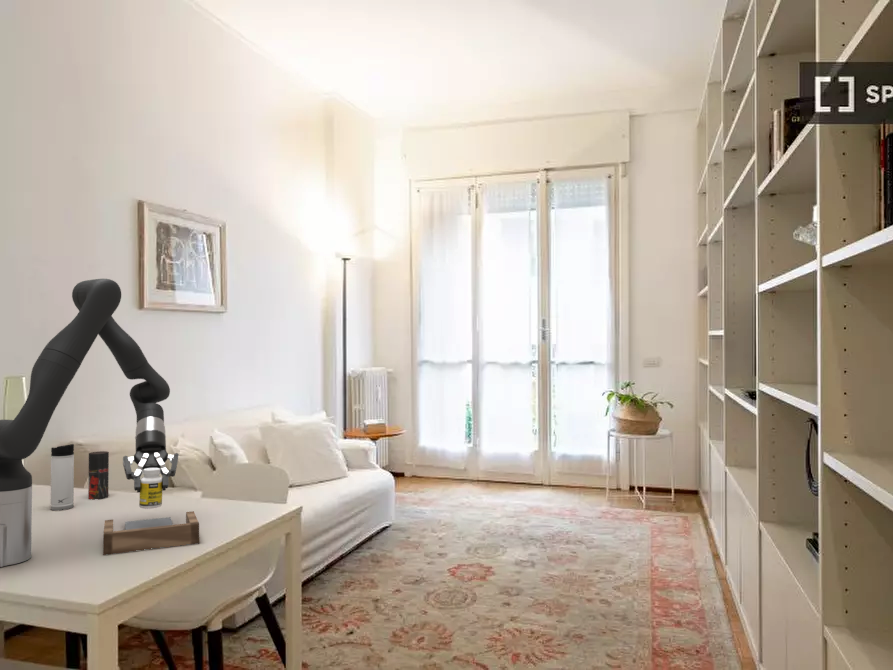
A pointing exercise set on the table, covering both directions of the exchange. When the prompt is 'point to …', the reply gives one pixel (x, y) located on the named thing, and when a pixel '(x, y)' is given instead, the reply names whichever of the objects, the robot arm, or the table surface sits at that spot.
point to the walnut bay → (150, 536)
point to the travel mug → (62, 477)
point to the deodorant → (98, 475)
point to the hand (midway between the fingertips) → (151, 489)
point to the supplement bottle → (151, 489)
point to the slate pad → (148, 523)
